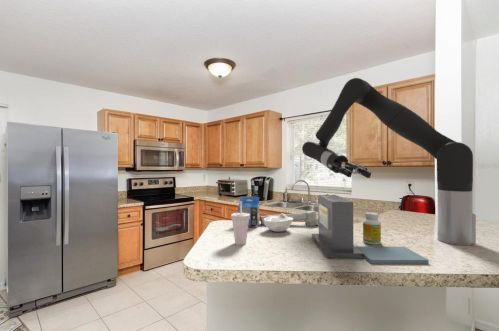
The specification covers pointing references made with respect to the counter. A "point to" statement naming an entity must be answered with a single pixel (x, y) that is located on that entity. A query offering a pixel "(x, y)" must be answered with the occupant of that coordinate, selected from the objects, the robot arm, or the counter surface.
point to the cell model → (278, 222)
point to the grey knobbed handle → (299, 218)
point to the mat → (391, 255)
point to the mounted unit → (336, 228)
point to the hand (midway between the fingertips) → (360, 175)
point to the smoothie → (240, 226)
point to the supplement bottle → (371, 229)
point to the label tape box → (250, 210)
